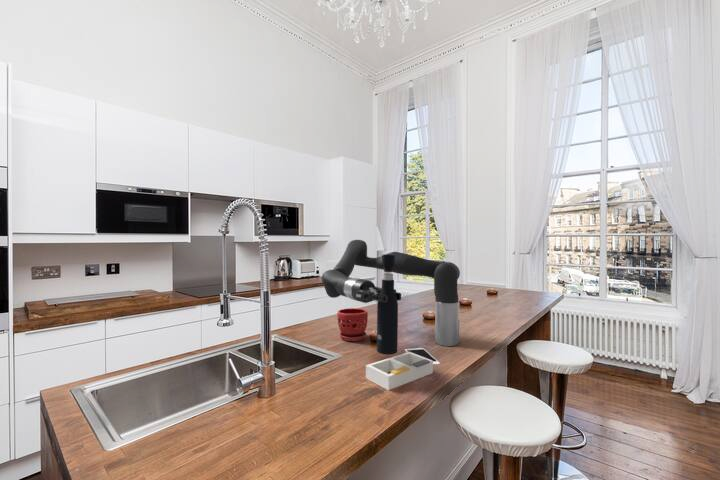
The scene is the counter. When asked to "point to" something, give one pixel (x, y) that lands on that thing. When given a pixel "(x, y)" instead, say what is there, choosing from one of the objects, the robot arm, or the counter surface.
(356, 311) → the plant pot
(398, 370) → the bottle holder
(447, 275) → the robot arm
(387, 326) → the black water bottle
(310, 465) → the counter surface
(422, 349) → the cell phone
